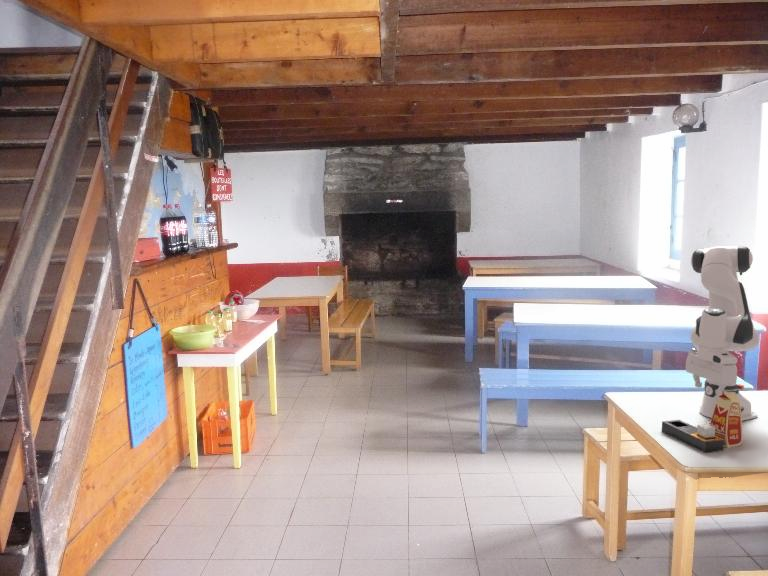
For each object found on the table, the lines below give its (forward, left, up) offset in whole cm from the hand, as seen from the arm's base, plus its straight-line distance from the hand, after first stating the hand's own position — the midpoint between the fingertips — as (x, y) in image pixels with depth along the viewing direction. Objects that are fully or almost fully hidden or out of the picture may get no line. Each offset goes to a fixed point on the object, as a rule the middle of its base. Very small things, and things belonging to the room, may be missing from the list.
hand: (708, 390), depth 218 cm
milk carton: (-11, -2, -21) cm, 24 cm away
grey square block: (0, +1, -21) cm, 21 cm away
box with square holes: (0, -6, -21) cm, 22 cm away
